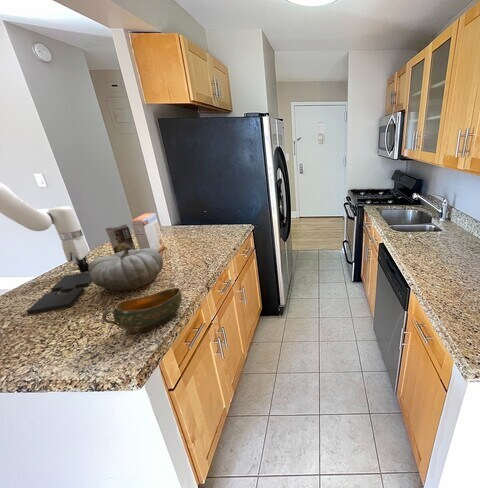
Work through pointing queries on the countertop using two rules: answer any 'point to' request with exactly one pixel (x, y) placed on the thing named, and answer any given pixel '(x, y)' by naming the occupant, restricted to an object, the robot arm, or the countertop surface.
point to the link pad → (72, 282)
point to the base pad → (55, 301)
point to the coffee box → (120, 238)
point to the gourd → (126, 269)
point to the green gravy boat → (145, 311)
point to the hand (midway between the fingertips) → (85, 271)
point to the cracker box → (148, 232)
